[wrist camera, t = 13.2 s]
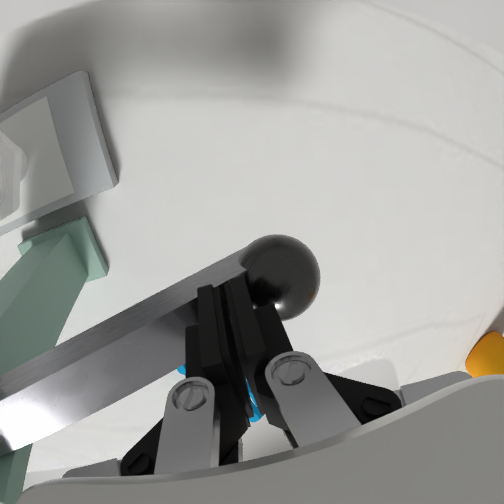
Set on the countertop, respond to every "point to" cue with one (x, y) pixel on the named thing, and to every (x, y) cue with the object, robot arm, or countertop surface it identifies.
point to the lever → (144, 341)
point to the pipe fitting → (10, 175)
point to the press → (54, 240)
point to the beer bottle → (487, 356)
